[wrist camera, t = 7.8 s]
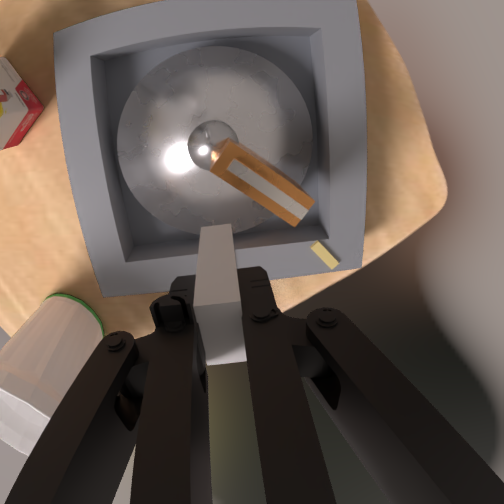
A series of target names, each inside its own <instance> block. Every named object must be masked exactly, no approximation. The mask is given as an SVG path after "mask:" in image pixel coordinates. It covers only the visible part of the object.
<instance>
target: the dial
mask: <svg viewBox="0 0 504 504" xmlns="http://www.w3.org/2000/svg"><path fill="white" fill-rule="evenodd" d="M312 143H313V135H312V125H311V120H310V115H309V112H308V109H307V106H306V103H305V101H304V99H303V97H302V95H301V94H300V92H299V90H298V89H297V87H296V86H295V84H294V83H293V82H292V80H291V79H290V78H289V77H288V76H287V75H286V74H285V73H284V72H283V71H282V70H281V69H279V68H278V67H277V66H276V65H274V64H273V63H271V62H270V61H268V60H266V59H265V58H263V57H261V56H259V55H257V54H254V53H252V52H250V51H246V50H242V49H239V48H233V47H226V46H207V47H200V48H195V49H191V50H187V51H184V52H181V53H179V54H176V55H174V56H172V57H170V58H168V59H166V60H165V61H163V62H161V63H160V64H158V65H157V66H156V67H155V68H153V69H152V70H151V71H150V72H148V73H147V74H146V75H145V76H144V78H143V79H142V80H141V81H140V82H139V83H138V84H137V86H136V87H135V88H134V90H133V91H132V93H131V94H130V96H129V98H128V100H127V102H126V104H125V106H124V109H123V112H122V114H121V118H120V122H119V126H118V134H117V153H118V159H119V164H120V168H121V171H122V174H123V177H124V179H125V181H126V183H127V185H128V187H129V189H130V190H131V192H132V193H133V195H134V196H135V198H136V199H137V200H138V201H139V202H140V204H141V205H142V206H143V207H144V208H145V209H146V210H147V211H148V212H150V213H151V214H152V215H153V216H155V217H156V218H158V219H159V220H160V221H162V222H164V223H166V224H168V225H170V226H172V227H174V228H176V229H179V230H182V231H185V232H189V233H193V234H200V232H201V227H206V226H214V225H223V224H231V228H232V234H233V233H237V232H241V231H244V230H247V229H249V228H252V227H255V226H257V225H259V224H260V223H262V222H264V221H266V220H268V219H269V218H270V217H272V216H273V215H277V216H278V217H280V218H281V219H283V220H284V221H286V222H287V223H289V224H290V225H292V226H293V227H296V225H297V224H298V223H299V222H300V220H302V219H303V217H304V216H305V215H306V213H307V212H308V211H309V209H310V208H311V206H312V205H313V204H314V202H315V200H314V199H313V198H312V197H311V196H310V195H309V194H308V193H307V192H306V191H305V190H304V189H303V188H302V187H301V186H300V185H301V183H302V181H303V179H304V177H305V175H306V172H307V169H308V166H309V163H310V158H311V153H312Z"/></svg>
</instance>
